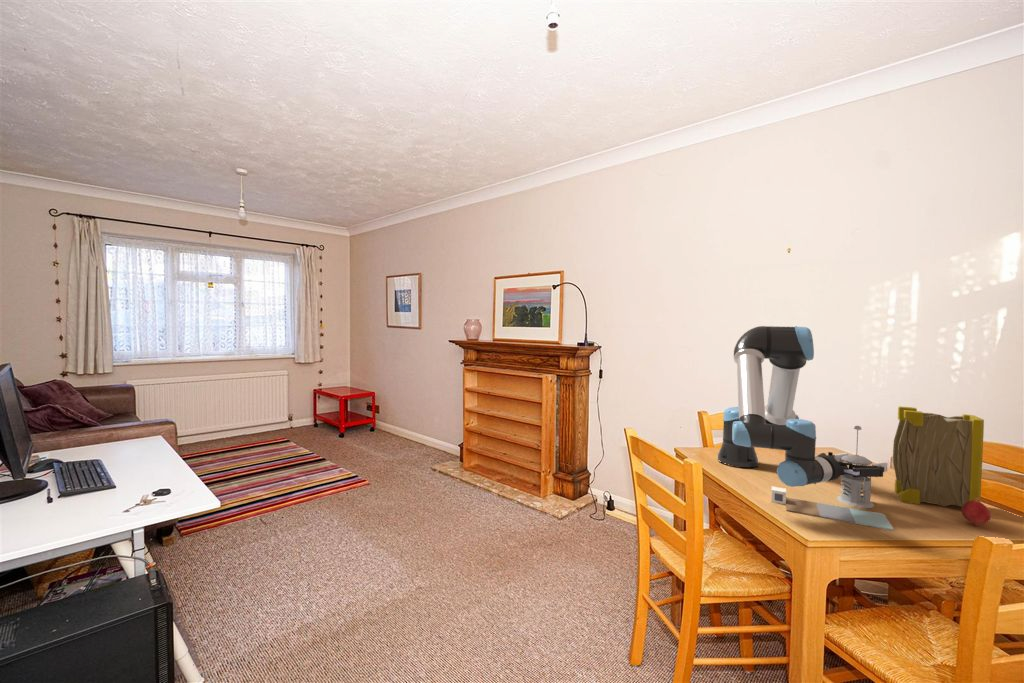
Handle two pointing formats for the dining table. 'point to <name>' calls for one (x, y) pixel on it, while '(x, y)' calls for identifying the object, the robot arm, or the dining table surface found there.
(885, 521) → the tile teal
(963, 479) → the decorative book
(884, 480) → the dining table surface
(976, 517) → the onion
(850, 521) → the tile slate
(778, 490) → the letter cube
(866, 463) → the french press
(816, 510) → the tile walnut
